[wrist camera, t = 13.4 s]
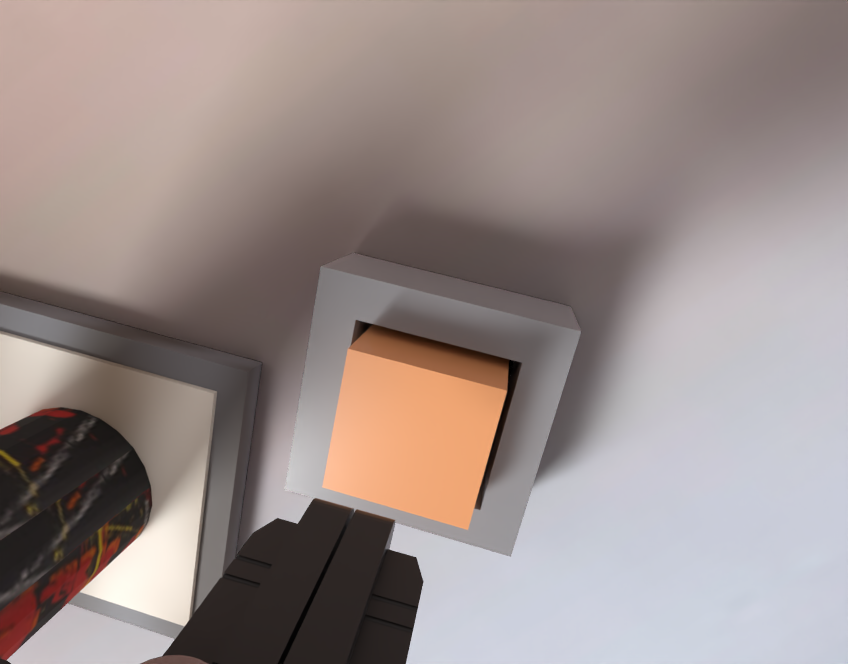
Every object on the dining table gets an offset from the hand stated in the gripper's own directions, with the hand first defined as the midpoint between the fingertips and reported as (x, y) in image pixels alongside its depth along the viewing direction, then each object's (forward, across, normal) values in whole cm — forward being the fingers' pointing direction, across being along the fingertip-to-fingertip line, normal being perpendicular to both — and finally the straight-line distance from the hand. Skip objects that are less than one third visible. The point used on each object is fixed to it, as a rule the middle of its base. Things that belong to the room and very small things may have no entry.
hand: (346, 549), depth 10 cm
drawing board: (+9, +12, +7) cm, 16 cm away
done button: (+7, 0, 0) cm, 7 cm away
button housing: (+9, 0, 0) cm, 9 cm away
